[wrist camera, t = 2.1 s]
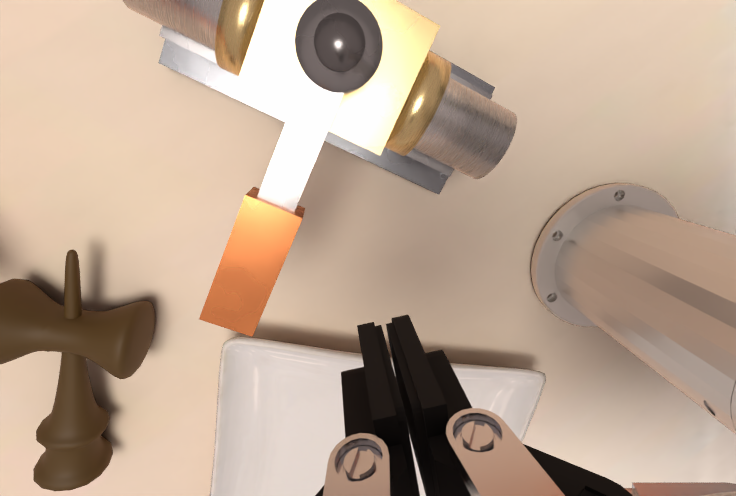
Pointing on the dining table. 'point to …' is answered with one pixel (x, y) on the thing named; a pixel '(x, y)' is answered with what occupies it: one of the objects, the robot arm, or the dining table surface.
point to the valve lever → (293, 158)
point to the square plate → (318, 413)
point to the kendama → (73, 368)
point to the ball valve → (356, 109)
